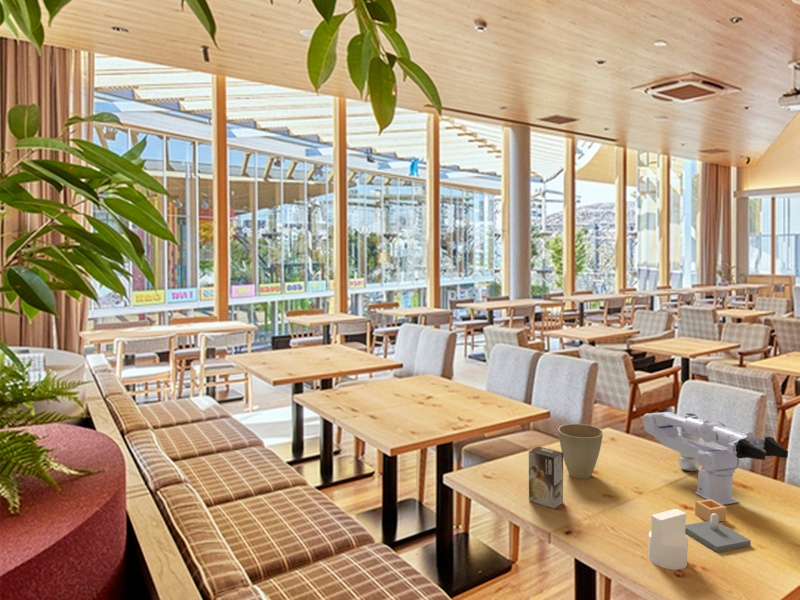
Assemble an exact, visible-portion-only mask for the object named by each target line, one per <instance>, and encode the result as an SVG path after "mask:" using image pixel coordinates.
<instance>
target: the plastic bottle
mask: <svg viewBox="0 0 800 600" xmlns="http://www.w3.org/2000/svg"><path fill="white" fill-rule="evenodd" d="M692 416H698V415H697V414H696V413H691V412H687V413H685V414H684V418H689V417H692ZM679 430H680V436H682V437H684V438H687V439H690V440H692V441H695V442H698V443H700V439H701V437H698V436H695V435H692V434H689V433H687V432H686V431H685V429H684V428H680V427H679ZM679 453H680V452H679ZM678 465H679V467H680V469H681V470H684V471H686V472H697V471H699V469H700V465H699V464H698V462H697V460H696V459H694V458H692V457H689V456H687V455H684V454H682V453H680V454H679V458H678Z"/></svg>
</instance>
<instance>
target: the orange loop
mask: <svg viewBox="0 0 800 600" xmlns="http://www.w3.org/2000/svg"><path fill="white" fill-rule="evenodd" d="M694 506H695V508H694V515H695V516H697V517H698V518H700V519H702V520H704V522H705V521H710V518H711V514H712V513H716V514H717V515H718V516H719V523H720V522H724V521H727V506H725V505H721V504H719V503H717V502H716V501H714V500H712V499H708V500H707V499H704V500H697V501H695V504H694Z"/></svg>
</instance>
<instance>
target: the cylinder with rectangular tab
mask: <svg viewBox="0 0 800 600" xmlns="http://www.w3.org/2000/svg"><path fill="white" fill-rule="evenodd" d="M686 517H687V513H686V512H685V511H682V510H680V509H678V508H672V509H669V510H665V511H662V512H658V513H655V514H652V515H651V527H650V529H651V530H650V531H649V532H648V545H647V546H648V547H647V548H648V549H647V550H648V551H647V552H648V554H647V555H648V556H647V558H648V559H649V561H650V562H651V563H653V564H654V565H656V566H658V567H661V568H664V569H668V570H674V571H675V570H681V569H682V570H683V569H685V568H687V566H688V550H689V549H688V547H689V539H688V538H687V537H686V533H685V526H686V525H687V524H686V523H687V522H686V519H687V518H686Z"/></svg>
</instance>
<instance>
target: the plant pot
mask: <svg viewBox="0 0 800 600" xmlns="http://www.w3.org/2000/svg"><path fill="white" fill-rule="evenodd" d="M557 431H558V432H557V433H558V439H559V444H560V445H559V446H560V448H561V452H563V462H564V464H565V467H566V469H567V471H568V474H569V476H570V477H572V478H575V479H580V480H584V479H589V478H591V476H592V474H593V472H594V470H595V468H596V467H595V466H596V465H597V462H598V459H599V455H600V451H601V447H602V446H601V445H602V442H603V436H604V431H603V430H602V429H601V428H599V427H597V426H593V425H590V424H583V423H568V424H562V425H560V426H559V427H558V428H557Z"/></svg>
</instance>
